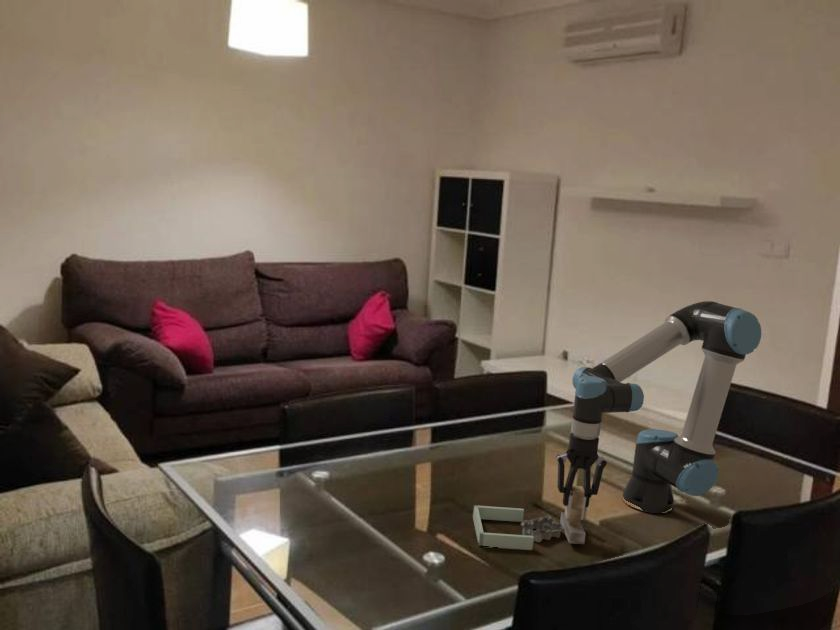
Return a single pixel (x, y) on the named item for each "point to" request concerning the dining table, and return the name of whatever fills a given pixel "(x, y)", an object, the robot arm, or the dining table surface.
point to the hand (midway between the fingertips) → (573, 516)
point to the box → (500, 539)
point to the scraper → (574, 517)
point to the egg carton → (546, 524)
